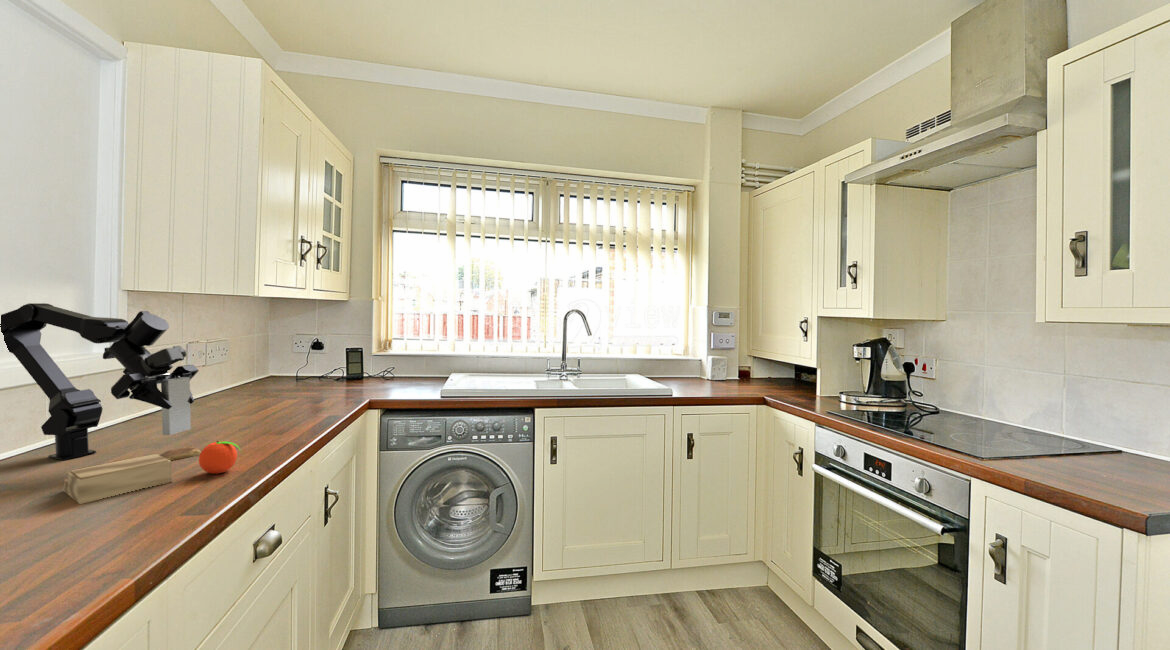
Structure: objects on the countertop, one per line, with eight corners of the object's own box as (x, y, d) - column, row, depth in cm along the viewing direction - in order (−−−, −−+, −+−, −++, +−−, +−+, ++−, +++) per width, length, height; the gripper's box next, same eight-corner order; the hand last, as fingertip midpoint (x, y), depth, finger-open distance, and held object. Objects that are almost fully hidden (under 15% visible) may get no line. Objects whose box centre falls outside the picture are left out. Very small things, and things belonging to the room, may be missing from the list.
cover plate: (162, 435, 120) (161, 380, 119) (184, 428, 126) (182, 376, 125) (169, 435, 120) (168, 380, 119) (190, 428, 126) (189, 377, 125)
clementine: (248, 466, 116) (247, 435, 116) (235, 476, 110) (234, 444, 109) (208, 469, 115) (207, 438, 114) (192, 479, 108) (191, 446, 108)
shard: (146, 468, 116) (145, 460, 116) (135, 462, 121) (134, 455, 121) (201, 456, 125) (201, 449, 125) (189, 451, 130) (189, 444, 130)
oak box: (63, 491, 101) (62, 467, 101) (152, 471, 113) (151, 450, 113) (79, 504, 95) (78, 479, 94) (172, 482, 106) (171, 459, 106)
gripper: (121, 338, 113) (169, 388, 113) (190, 333, 131) (232, 376, 131) (88, 373, 113) (137, 423, 113) (162, 363, 132) (204, 406, 132)
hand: (181, 405), depth 122 cm, fingers closed on cover plate, 6 cm apart
